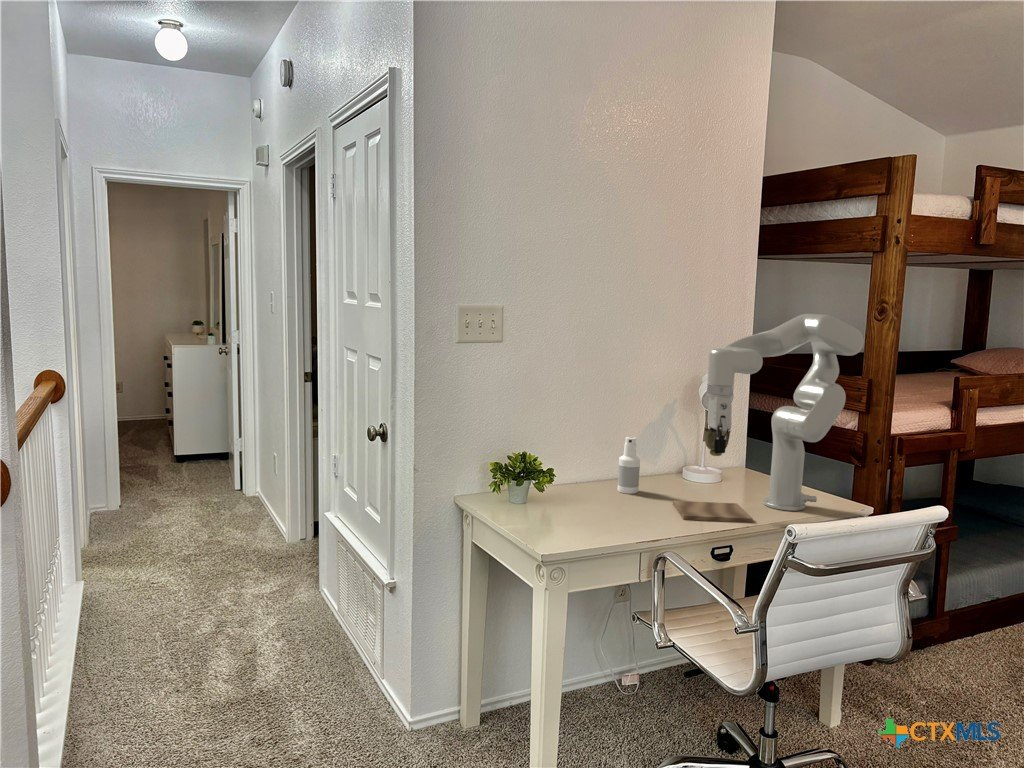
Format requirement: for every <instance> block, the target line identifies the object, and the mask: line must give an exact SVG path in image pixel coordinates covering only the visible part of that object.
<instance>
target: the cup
mask: <svg viewBox="0 0 1024 768" xmlns="http://www.w3.org/2000/svg"><path fill="white" fill-rule="evenodd" d="M719 429H721V428H719ZM719 432H720V431H719ZM719 432H718V434H719ZM731 432H732V430H731V429H730V430H727V432H726V433H727V434H726V448H725V450H726V449H727V447H728V445H729V442H730V441H729V440H730V435H731ZM715 439H716V431H715V429H713V428H712V430H711V429H709V426H707V427H704V442H705V446H706V447H707V448H708V450H709V455H711V456H714V457H720V456H722V455H723V453H715V452H714V441H715Z"/></svg>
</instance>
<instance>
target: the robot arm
mask: <svg viewBox="0 0 1024 768" xmlns="http://www.w3.org/2000/svg"><path fill="white" fill-rule="evenodd" d="M864 340H865V339H864V336H863V334H862V332H861V331H860V330H859V329H857V328H856V327H854V326H852V325H850V324H848V323H846V322H844V321H842V320H841V319H839V318H836V317H833V316H832V315H828V314H823V313H822V314H818V313H817V314H816V313H804V314H799V315H798V316H795V317H794V318H792V319H791V318H790V319H789V320H787V321H786V322H784V323H782V324H780V325H778V326H776V327H774V328H772V329H770V330H765V331H760V332H759V333H755V334H752V335H747V336H745V337H742V338H739V339H737V340H735V341H733V342H732V343H729V344H727V345H725V346H724V347H723V348H712V349H710V351H709V355H708V356H709V357H708V368H707V370H708V371H707V385H706V396H709V398H708V407H707V425H708V429H711V430H712V428H713V429H715V431H716V439H715V441H714V452H715V453H722V454H725V453H726V449H727V447H726V434H727V433H726V432H727V430H728V431H730V430H731V429H732V405H733V404H732V398H734V386H735V374H742V375H753V374H756V373H758V372H759V371H760V370H761V369H762V366H763V363H764V361H763V358H770V357H779V356H783V355H784V356H785V355H786V354H788V353H790V352H792V351H793V350H795V349H798V348H799V347H801V346H803V345H805V344H807V343H811V349H812V355H813V359H812V364H811V366H810V367H809V369H808V371H807V373H806V374H805V375H804V377H803V378H802V379H801V381H800V382H799V384H798V385H797V387H796V389H795V390H794V393H793V396H792V397H793V401H794V404H796V405H797V406H798V407H797V406H791V405H783V406H780V407H778V408H777V409H775V411H774V412H773V414H772V416H771V432H772V452H771V453H772V455H771V468H770V478H769V490H768V492H769V493H768V496H767V497H764V498H763V501H762V504H764V505H765V506H766V507H768V508H772V509H776V510H780V511H781V510H782V511H792V512H793V511H796V512H797V511H803V510H805V509H806V503H807V502H809V503H817V500H818V499H817V495H810V494H805V493H803V491H802V488H803V478H804V466H805V455H806V451H805V445H804V442H807V443H817V442H819V441H821V440H822V439H823V438H824V437H826V435H827V433H828V432H829V431H830V429H831V427H832V426H833V425H834V424H835V421H836V420H837V419H838V417H839V415H840V414H841V412H842V411H843V409H844V407H845V404H846V400H847V396H846V391H845V390H844V387H842V386H841V385H840V384H838V383H836V381H837V379H838V377H839V374H840V365H839V361H838V357H837V356H838V355H839V356H847V357H849V356H851V357H852V356H855V355H857V354H858V353H860V352H861V350H862V349H863V347H864V344H865V343H864ZM719 428H720V429H719ZM719 431H720V432H719ZM718 432H719V434H718ZM803 441H804V442H803ZM725 448H726V449H725Z"/></svg>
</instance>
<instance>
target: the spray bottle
mask: <svg viewBox="0 0 1024 768" xmlns="http://www.w3.org/2000/svg"><path fill="white" fill-rule="evenodd" d="M623 447H624V449H623V455H621V456H619V458H618V474H617V489H616V490H617V491H618V492H619V493H622V494H626V495H627V494H628V495H633V494H638V493H639V486H640V484H639V483H640V468H641V467H640V466H641V459H640V457H638V456H637V437H628V436H626V437H625V441H624V446H623Z"/></svg>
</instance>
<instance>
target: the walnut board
mask: <svg viewBox="0 0 1024 768" xmlns="http://www.w3.org/2000/svg"><path fill="white" fill-rule="evenodd" d="M672 506H673V508H675V511H677V513H678V514H679V515H680V517H681V518H682V519H683V521H684V520H685V521H705V522H706V521H707V522H726V523H729V522H730V523H731V522H732V523H733V522H734V523H753V522H754V521H753V520H754V518H753V517H752V516H751V515H750V514H749V513H748V512H747V511H746V510H745V509H744V508H743V507H742V506H740V504H739V503H736V502H735V503H733V502H712V501H711V502H708V501H691V500H690V501H686V500H672Z"/></svg>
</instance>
